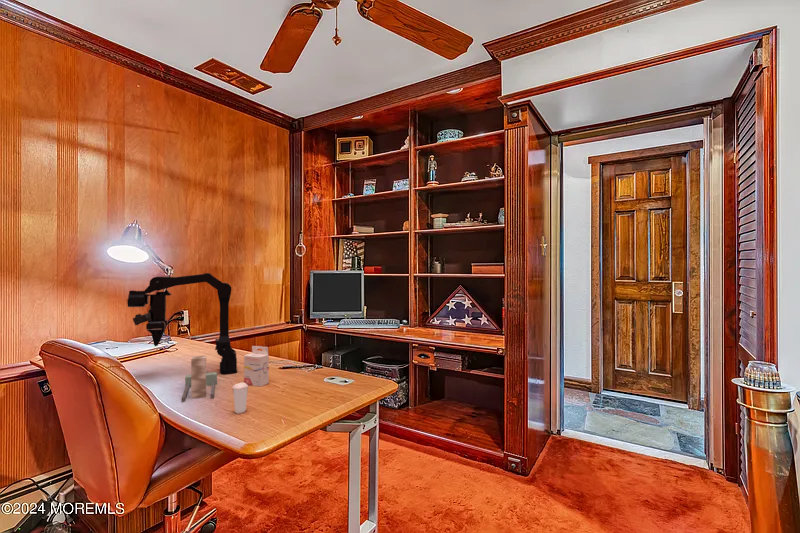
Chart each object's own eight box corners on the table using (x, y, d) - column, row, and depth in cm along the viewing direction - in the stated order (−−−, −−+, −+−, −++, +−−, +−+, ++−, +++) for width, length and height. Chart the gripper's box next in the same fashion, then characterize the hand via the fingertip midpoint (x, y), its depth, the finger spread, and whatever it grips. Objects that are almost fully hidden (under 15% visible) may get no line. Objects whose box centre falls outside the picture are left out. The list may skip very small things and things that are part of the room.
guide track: (216, 381, 160) (216, 371, 160) (215, 398, 139) (215, 386, 139) (186, 385, 155) (186, 374, 155) (179, 402, 135) (179, 390, 135)
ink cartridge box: (243, 384, 155) (243, 347, 155) (251, 381, 160) (251, 345, 160) (261, 386, 152) (261, 349, 152) (269, 383, 157) (269, 346, 157)
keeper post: (206, 393, 145) (206, 355, 145) (205, 397, 141) (205, 357, 141) (192, 395, 143) (192, 356, 143) (191, 398, 139) (191, 359, 139)
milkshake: (232, 409, 128) (232, 378, 128) (249, 409, 128) (249, 378, 128) (228, 414, 123) (227, 383, 123) (245, 414, 124) (245, 382, 124)
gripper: (137, 306, 167) (136, 342, 167) (131, 308, 151) (130, 349, 150) (167, 305, 173) (167, 341, 172) (165, 307, 156) (164, 347, 155)
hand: (156, 344), depth 162 cm, fingers open, 9 cm apart
